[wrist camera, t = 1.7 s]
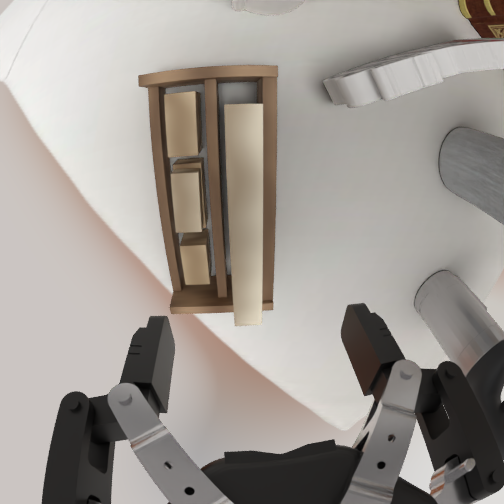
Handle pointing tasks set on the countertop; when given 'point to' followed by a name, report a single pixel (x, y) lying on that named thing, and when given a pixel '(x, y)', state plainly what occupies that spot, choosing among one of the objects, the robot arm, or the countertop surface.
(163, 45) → the countertop surface
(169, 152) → the offcut
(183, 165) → the block
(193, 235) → the offcut
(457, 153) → the vase
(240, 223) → the sheet
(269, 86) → the rack
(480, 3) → the decorative book
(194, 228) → the upper offcut
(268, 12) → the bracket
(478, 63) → the decorative sign
